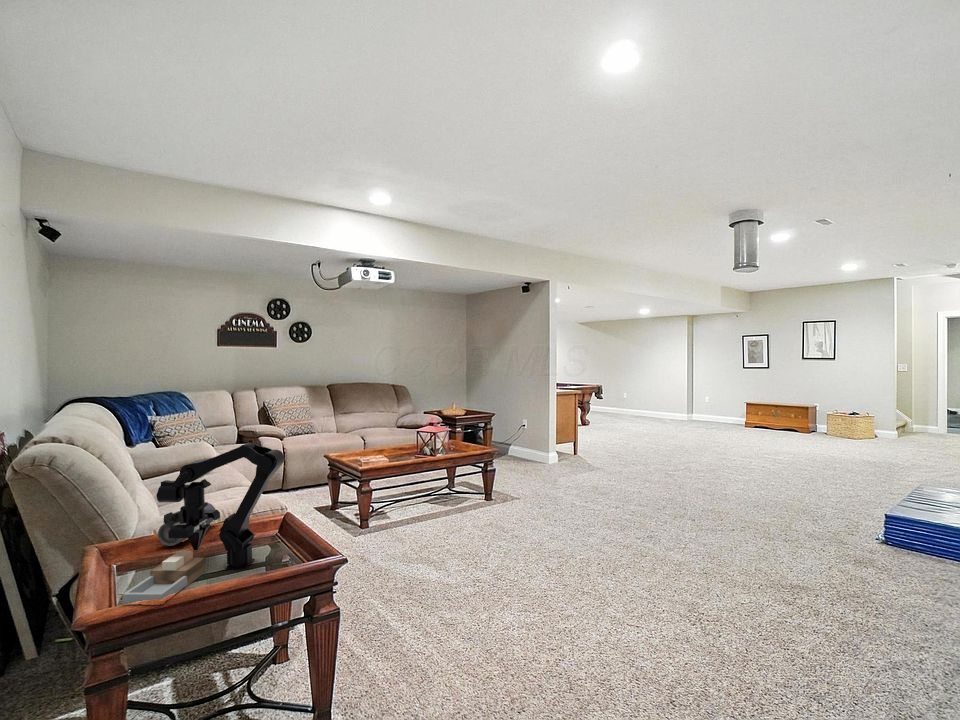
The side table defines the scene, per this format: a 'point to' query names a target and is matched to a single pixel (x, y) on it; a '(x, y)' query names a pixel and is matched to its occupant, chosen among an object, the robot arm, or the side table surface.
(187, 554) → the tile rear
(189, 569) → the stepped beige slab
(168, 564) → the tile front
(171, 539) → the bluetooth speaker
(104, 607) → the side table surface
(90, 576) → the side table surface
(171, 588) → the tray
